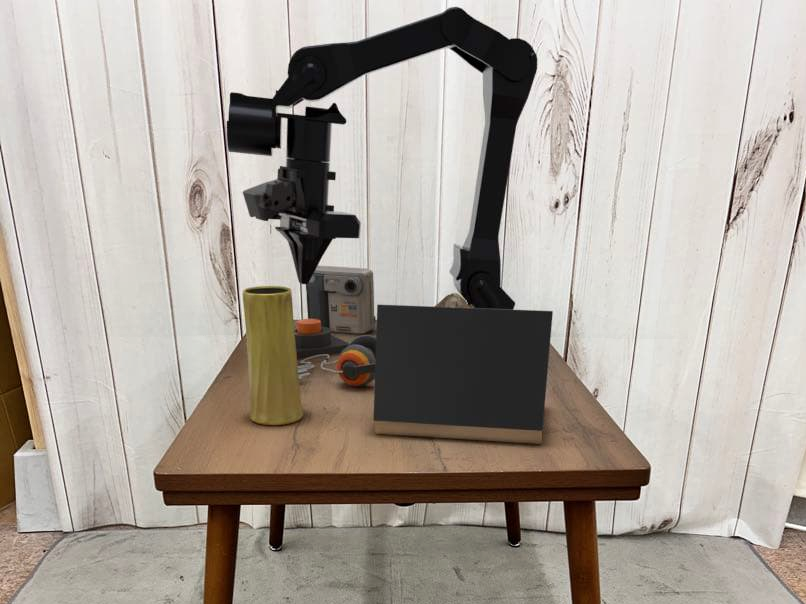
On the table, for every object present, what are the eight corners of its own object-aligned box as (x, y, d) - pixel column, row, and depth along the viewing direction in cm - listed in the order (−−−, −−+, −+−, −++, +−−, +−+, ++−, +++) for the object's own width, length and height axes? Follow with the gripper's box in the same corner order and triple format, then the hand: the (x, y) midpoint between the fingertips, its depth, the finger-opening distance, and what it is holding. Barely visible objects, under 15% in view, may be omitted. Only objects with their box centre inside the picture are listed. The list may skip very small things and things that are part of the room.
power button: (315, 329, 119) (314, 317, 118) (325, 334, 116) (324, 322, 115) (293, 332, 117) (292, 320, 117) (302, 336, 115) (302, 324, 114)
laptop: (395, 401, 96) (395, 387, 95) (543, 409, 93) (544, 395, 92) (375, 433, 85) (375, 418, 85) (541, 444, 83) (542, 429, 82)
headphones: (295, 341, 112) (430, 313, 107) (305, 376, 114) (437, 351, 109) (255, 373, 97) (409, 343, 92) (268, 413, 99) (419, 386, 94)
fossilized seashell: (492, 318, 127) (460, 317, 136) (473, 283, 124) (441, 284, 132) (460, 347, 126) (429, 344, 134) (440, 312, 122) (409, 312, 131)
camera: (302, 330, 130) (299, 267, 125) (319, 323, 134) (316, 263, 130) (364, 337, 126) (363, 272, 121) (379, 329, 131) (378, 267, 126)
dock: (329, 341, 123) (328, 322, 122) (351, 352, 117) (350, 332, 116) (269, 348, 119) (267, 328, 117) (289, 360, 113) (288, 339, 111)
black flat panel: (378, 304, 82) (377, 304, 81) (552, 311, 79) (552, 311, 78) (375, 419, 85) (373, 420, 84) (542, 430, 82) (542, 431, 81)
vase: (252, 409, 93) (241, 285, 86) (304, 408, 93) (296, 284, 87) (247, 426, 87) (235, 295, 81) (302, 425, 88) (294, 294, 81)
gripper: (220, 150, 104) (221, 272, 111) (287, 161, 91) (284, 298, 98) (294, 156, 110) (290, 271, 117) (366, 168, 97) (358, 296, 104)
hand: (303, 283), depth 109 cm, fingers closed
